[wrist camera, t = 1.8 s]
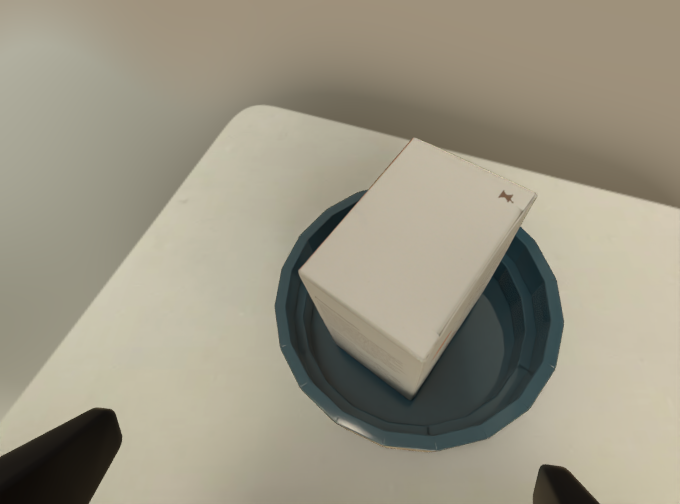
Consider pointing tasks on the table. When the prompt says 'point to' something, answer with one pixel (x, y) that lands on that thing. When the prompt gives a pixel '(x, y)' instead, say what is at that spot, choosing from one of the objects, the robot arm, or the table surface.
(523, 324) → the bowl
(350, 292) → the small box
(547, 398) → the table surface
